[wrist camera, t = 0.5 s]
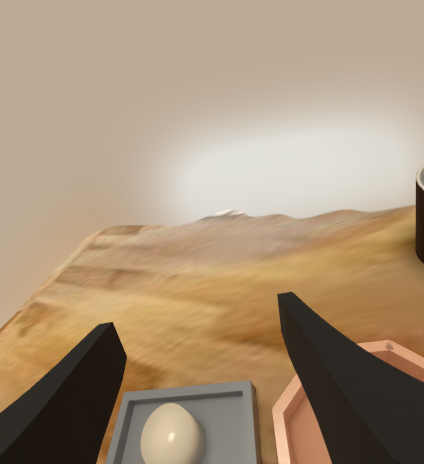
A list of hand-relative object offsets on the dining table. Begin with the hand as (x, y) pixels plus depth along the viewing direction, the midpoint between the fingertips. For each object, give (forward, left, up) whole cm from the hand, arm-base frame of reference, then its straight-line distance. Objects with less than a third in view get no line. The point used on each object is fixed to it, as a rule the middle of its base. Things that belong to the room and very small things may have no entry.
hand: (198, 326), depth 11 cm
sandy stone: (-1, +8, -17) cm, 19 cm away
